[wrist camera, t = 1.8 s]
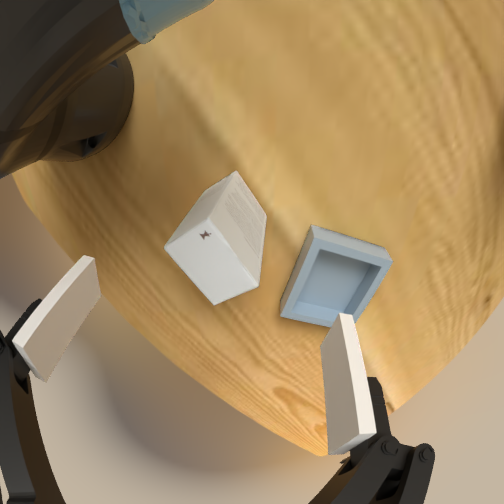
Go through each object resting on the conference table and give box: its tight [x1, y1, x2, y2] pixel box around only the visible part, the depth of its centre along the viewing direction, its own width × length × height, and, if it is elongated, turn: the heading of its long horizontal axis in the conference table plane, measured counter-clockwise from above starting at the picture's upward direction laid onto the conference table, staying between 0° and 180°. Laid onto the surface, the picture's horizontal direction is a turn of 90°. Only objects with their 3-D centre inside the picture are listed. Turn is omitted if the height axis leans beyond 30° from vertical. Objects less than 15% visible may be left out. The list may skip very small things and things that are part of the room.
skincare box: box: [164, 171, 267, 305], centre depth 23 cm, size 6×4×12 cm
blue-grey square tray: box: [280, 225, 393, 327], centre depth 30 cm, size 10×11×3 cm
